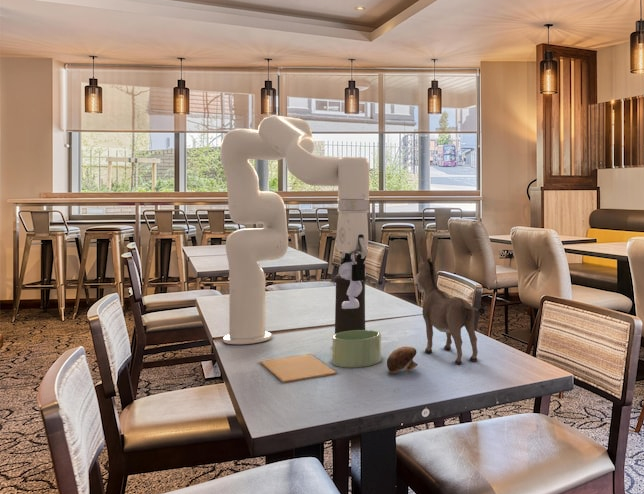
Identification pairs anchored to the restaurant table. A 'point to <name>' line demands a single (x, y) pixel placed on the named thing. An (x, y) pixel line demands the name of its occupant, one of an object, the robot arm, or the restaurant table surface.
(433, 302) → the toy
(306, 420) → the restaurant table surface
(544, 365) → the restaurant table surface
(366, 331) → the green bowl
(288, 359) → the mat
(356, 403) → the restaurant table surface
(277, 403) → the restaurant table surface
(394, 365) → the mushroom
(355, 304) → the toy figurine
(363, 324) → the container
